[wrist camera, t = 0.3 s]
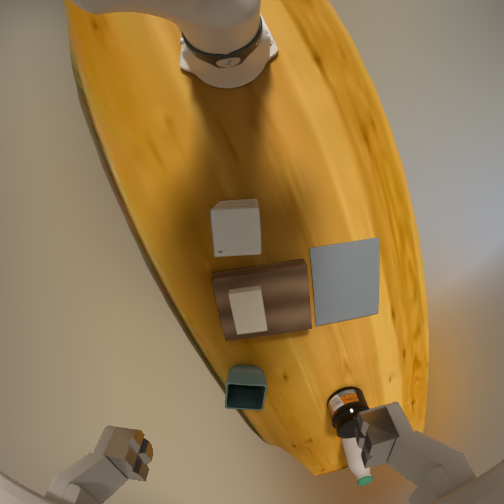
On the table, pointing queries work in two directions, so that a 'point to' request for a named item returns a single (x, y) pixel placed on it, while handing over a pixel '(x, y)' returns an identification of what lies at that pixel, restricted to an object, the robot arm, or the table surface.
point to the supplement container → (346, 410)
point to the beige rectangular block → (248, 309)
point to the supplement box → (236, 228)
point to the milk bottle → (356, 461)
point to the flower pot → (245, 388)
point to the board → (267, 296)
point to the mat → (345, 280)
